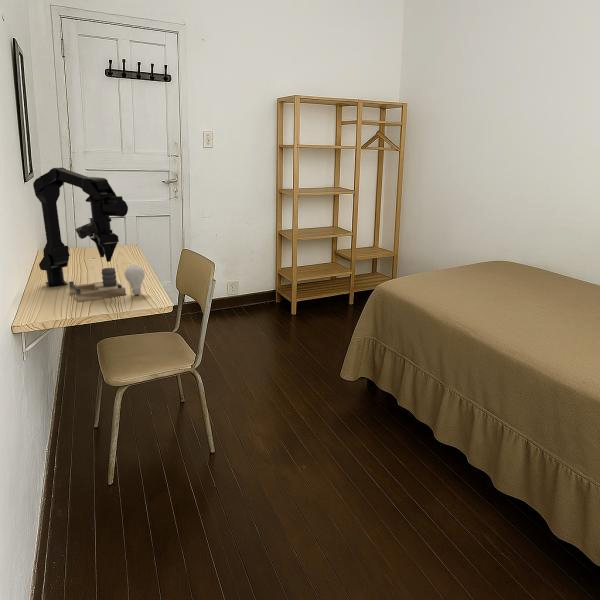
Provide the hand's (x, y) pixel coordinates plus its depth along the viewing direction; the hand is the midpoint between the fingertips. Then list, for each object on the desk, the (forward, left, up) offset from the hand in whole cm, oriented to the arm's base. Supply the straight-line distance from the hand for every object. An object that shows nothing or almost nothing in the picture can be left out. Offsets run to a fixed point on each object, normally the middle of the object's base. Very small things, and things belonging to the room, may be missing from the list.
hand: (105, 259), depth 187 cm
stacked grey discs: (0, +1, -10) cm, 10 cm away
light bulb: (+10, +7, -12) cm, 17 cm away
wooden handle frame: (0, -4, -12) cm, 13 cm away
